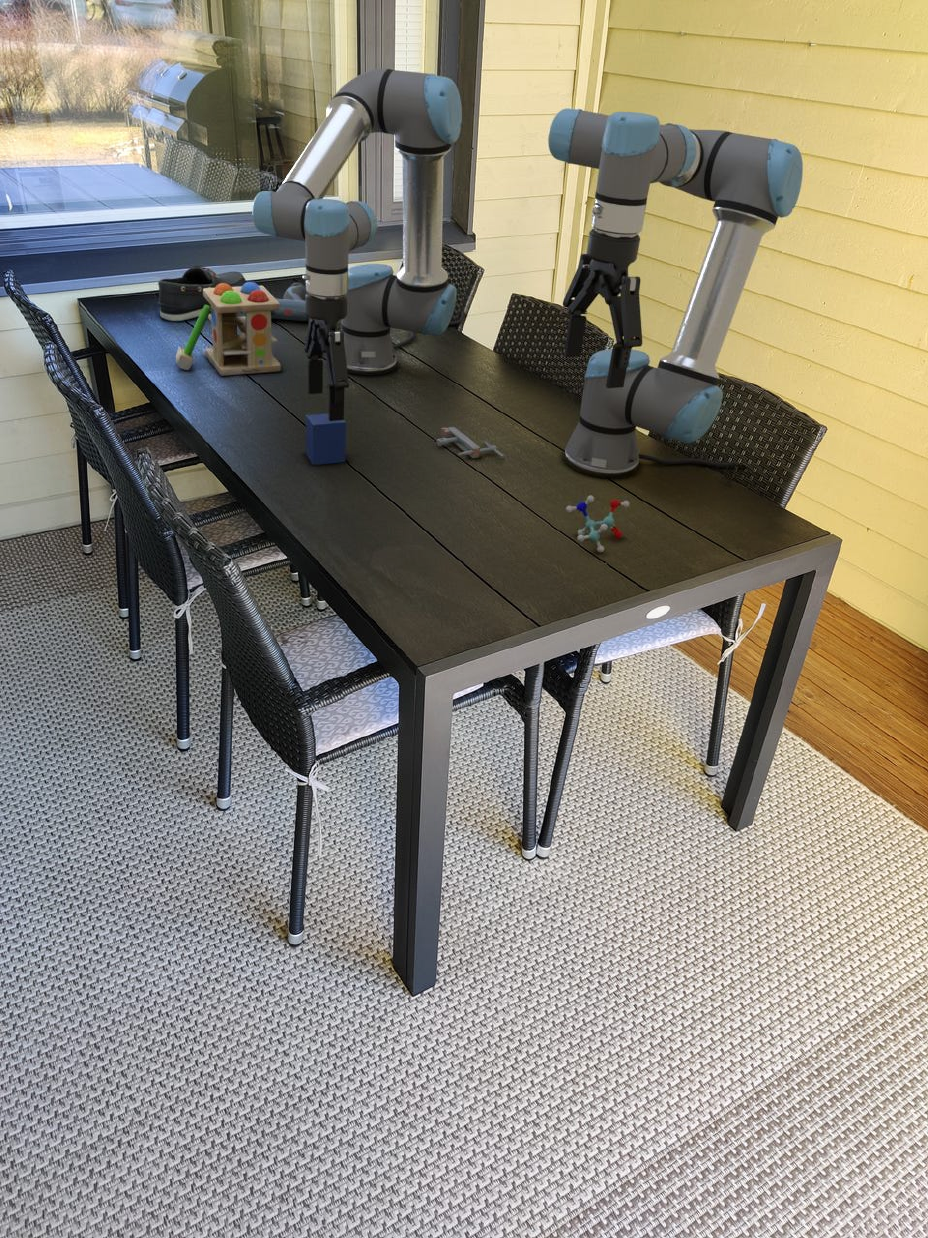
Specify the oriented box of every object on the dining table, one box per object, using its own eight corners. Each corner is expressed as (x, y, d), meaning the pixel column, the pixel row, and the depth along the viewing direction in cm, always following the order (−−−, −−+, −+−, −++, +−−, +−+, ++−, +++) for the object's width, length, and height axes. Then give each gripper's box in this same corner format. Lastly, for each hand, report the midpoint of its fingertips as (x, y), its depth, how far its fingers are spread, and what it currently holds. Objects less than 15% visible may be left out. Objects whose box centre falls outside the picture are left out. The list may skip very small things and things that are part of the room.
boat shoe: (265, 300, 274) (264, 261, 269) (177, 323, 251) (173, 281, 245) (232, 291, 280) (229, 254, 275) (142, 313, 256) (138, 272, 251)
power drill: (344, 304, 276) (335, 327, 259) (277, 298, 275) (264, 321, 258) (344, 285, 273) (335, 306, 256) (277, 279, 272) (264, 300, 255)
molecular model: (629, 546, 167) (611, 490, 165) (576, 561, 170) (559, 506, 169) (639, 535, 177) (623, 482, 176) (590, 549, 181) (573, 498, 179)
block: (306, 454, 194) (305, 414, 190) (338, 451, 197) (338, 412, 192) (313, 465, 191) (313, 424, 186) (345, 461, 193) (346, 421, 188)
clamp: (428, 429, 204) (470, 423, 208) (427, 439, 205) (469, 432, 209) (464, 459, 193) (507, 451, 198) (463, 469, 194) (506, 461, 199)
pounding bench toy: (183, 379, 220) (176, 299, 210) (169, 357, 231) (162, 280, 221) (282, 371, 230) (280, 294, 220) (264, 350, 240) (262, 276, 230)
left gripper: (287, 274, 183) (288, 383, 195) (326, 315, 165) (325, 433, 177) (326, 273, 186) (325, 381, 198) (369, 313, 168) (365, 430, 179)
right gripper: (553, 211, 151) (536, 345, 163) (638, 254, 133) (612, 402, 145) (595, 210, 154) (575, 343, 166) (684, 253, 136) (655, 398, 148)
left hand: (325, 406), depth 187 cm, fingers open, 13 cm apart
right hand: (592, 371), depth 156 cm, fingers open, 13 cm apart
